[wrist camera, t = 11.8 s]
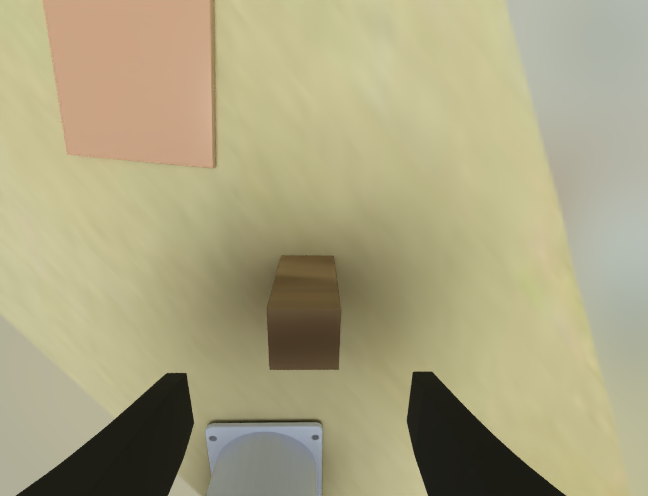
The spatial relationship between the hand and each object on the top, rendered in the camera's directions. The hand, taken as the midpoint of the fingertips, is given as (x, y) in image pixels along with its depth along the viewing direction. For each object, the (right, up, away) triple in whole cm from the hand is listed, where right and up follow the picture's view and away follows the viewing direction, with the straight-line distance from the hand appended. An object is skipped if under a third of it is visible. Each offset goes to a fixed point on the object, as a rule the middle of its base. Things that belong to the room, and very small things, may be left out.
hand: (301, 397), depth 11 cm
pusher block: (0, +3, +9) cm, 9 cm away
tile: (-8, +9, +6) cm, 14 cm away
